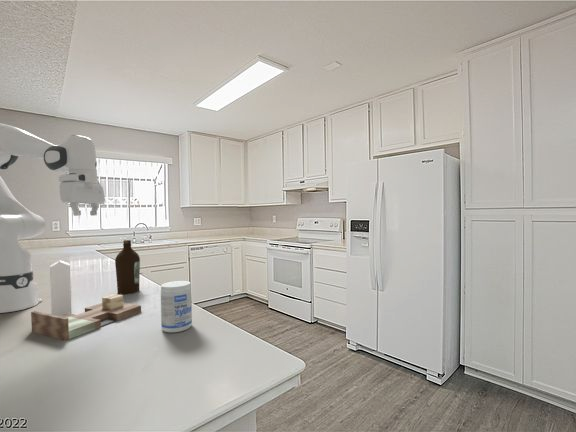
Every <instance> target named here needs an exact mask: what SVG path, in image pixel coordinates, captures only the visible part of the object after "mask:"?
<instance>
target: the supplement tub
mask: <svg viewBox="0 0 576 432" xmlns="http://www.w3.org/2000/svg"><path fill="white" fill-rule="evenodd" d="M192 300H193V299H192V283H191V281H188V280H174V281H168V282H165V283H162V284H161V285H160V312H161V313H160V314H161V315H160V318H161V319H160V321H161V330H162V331H163V332H165V333H169V334H170V333H173V334H174V333H180V332H183V331H186V330H188V329H190V328H191V326H192V324H193V312H192V311H193V310H192Z"/></svg>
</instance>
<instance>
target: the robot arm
mask: <svg viewBox="0 0 576 432" xmlns="http://www.w3.org/2000/svg"><path fill="white" fill-rule="evenodd" d="M19 157H22V158H31V159H32V158H33V159H43V162H44V164H45V165H46V168H48V169H49V170H52V171H55V172H59V173H65V174H61V175H58V182H60V183H59V198H60V200H61V202H62V203H67V204H69V207H70V208H71V210H72V215H73V216H75V217H76V216H81V215H82V212H81V211H82V210H80V209H79V206H80V205H79V204H83V205H84V204H86V205H90V206H91V210H89V215H90V216H94V217H95V216H97V215H98V209H99V206H100V205H104V204H105V202H106V197H105V190H104V188H103V186H102V184H101V182H99V181H98V170H97V165H98V164H97V163H98V162H97V153H96V146H95V143H94V140H93V139H91V138H90V137H87V136H83V135H79V134H78V135H77V134H71V135H68V136H67V137H66V139H65V140H64V141H63V142H61V143H59V144H53V143H51V142H48V141H47V140H44V139H42V138H40V137H38V136H36V135H34V134H32V133H30V132H28V131H26V130H23V129H21V128H18V127H16V126H14V125H9V124H7V123H6V124H5V123H2V122H0V170H7V169H8V168H9V167H10V166H13V164H14V163H16V161H17V160H18V159H19ZM46 226H47V224H46V220H45V219H44V218H43V217H42V216H41V215H38V214H36V213H34V212H32V210H31V211H30V210H29V209H28V208H26V206H24V205H23V204H22V203H21V202H20V201H18V200H17V198H16V197H15V196H14V195H13V193H12V191H11V190H10V189H9V187H8V186H7V184H6V182H5V180H4V179H3V178H2V176H1V175H0V314H2V313H4V314H5V313H10V312H16V311H17V312H18V311H21V310H25V309H29V308H31V307H36V306H37V305H38V304H39V303H41V302H43V298H39V296H40V295H39V291H38V290H39V289H38V283H36V282H35V281H33V280H34V271H33V270H32V255H31V253H30V252H29V251H28V250H26V249H24V248H22V246H21V245H20V242H19V240H27V239H31V238H36V237H38V236H42V234H43V233H44V232H45V231H46V228H47V227H46Z"/></svg>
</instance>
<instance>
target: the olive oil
mask: <svg viewBox="0 0 576 432" xmlns="http://www.w3.org/2000/svg"><path fill="white" fill-rule="evenodd" d="M122 241H123V243H122V250H121V251H119V253H118V254H117V255H116V256H115V260H114V261H115V262H114V264H115V265H114V266H115V275H116V276H115V277H116V289H117V294H118V295H129V294H134V293H137V292H139V291H140V276H141V275H140V273H141V270H140V268H141V259H140V258H141V257H140V255H139V254H138V252H136V251H135V250H134V249H133V248H132V241H131V239H127V240H126V239H125V240H122Z"/></svg>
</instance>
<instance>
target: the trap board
mask: <svg viewBox="0 0 576 432" xmlns="http://www.w3.org/2000/svg"><path fill="white" fill-rule="evenodd" d="M141 312H142V305H141V304H133V303H128V302H123V306H121V307H118V308H115V309H112V310H111V309H105V308H102V302H100V303H98V304H94V305H89V306H87V307H85V308H84V312H82V313H78V314H73V313H72V314H69V313H67V314H64V315H60V316H56V315H52V313H51V314H50V313H45V312H42V311H35V310H33V311H31V312H30V316H31V317H30V319H31V320H30V322H31V332H32V333H36V334H38V335H43V336H47V337H51V338H54V339H55V338H56V339H58V340H62V341H68V340H70V339H74V338H76V337H78V336H80V335H84V334H86V333H89V332H92V331H94V330H96V329H100V328H102V327H105V326H108V325H110V324H112V323H116V322H117V321H120V320H124V319H126V318H128V317H130V316H134V315H136V314H139V313H141Z"/></svg>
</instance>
